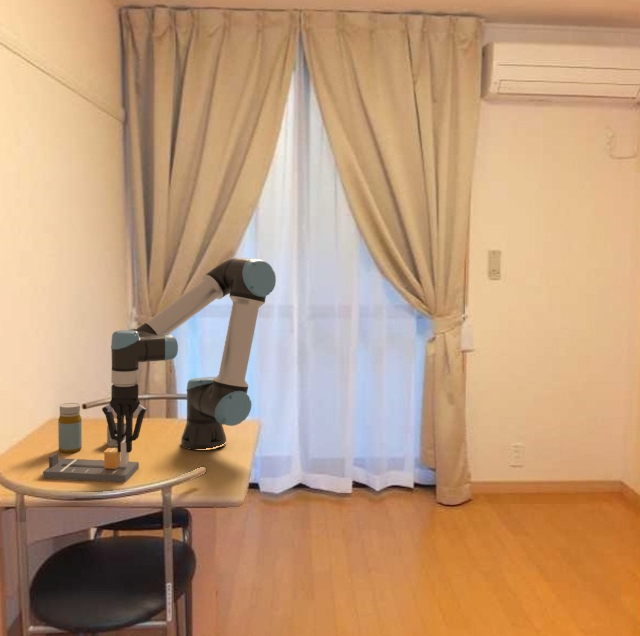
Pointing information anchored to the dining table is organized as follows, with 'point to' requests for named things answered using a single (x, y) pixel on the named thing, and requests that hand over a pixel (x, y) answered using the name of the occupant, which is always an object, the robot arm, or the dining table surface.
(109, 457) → the fader
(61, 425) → the bottle
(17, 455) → the dining table surface
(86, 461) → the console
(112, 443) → the mug
